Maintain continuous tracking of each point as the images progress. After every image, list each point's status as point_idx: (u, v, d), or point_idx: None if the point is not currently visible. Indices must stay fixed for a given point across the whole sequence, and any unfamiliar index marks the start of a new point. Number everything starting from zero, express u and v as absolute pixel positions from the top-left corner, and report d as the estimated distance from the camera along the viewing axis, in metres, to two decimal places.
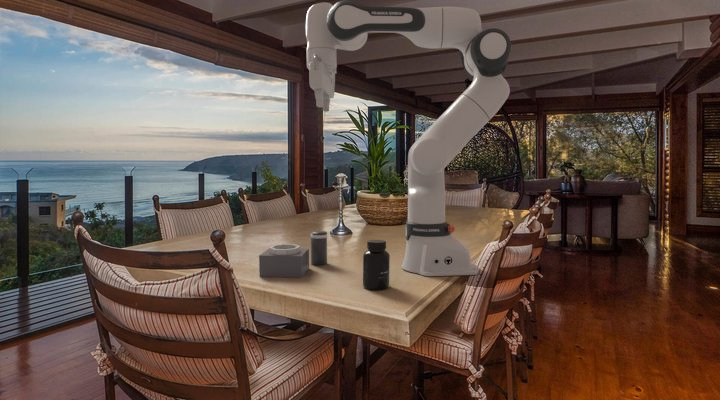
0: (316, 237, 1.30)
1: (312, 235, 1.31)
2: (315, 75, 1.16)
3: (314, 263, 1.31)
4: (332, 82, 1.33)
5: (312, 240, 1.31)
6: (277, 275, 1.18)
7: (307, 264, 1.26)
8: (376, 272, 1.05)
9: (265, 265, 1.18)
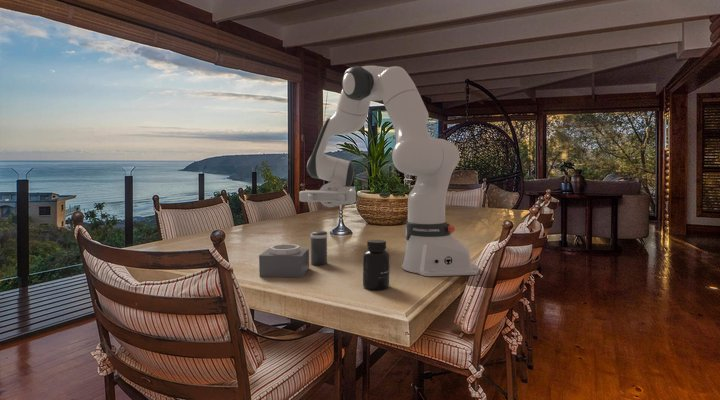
0: (316, 237, 1.30)
1: (312, 235, 1.31)
2: None
3: (314, 263, 1.31)
4: (349, 191, 1.52)
5: (312, 240, 1.31)
6: (277, 275, 1.18)
7: (307, 264, 1.26)
8: (376, 272, 1.05)
9: (265, 265, 1.18)
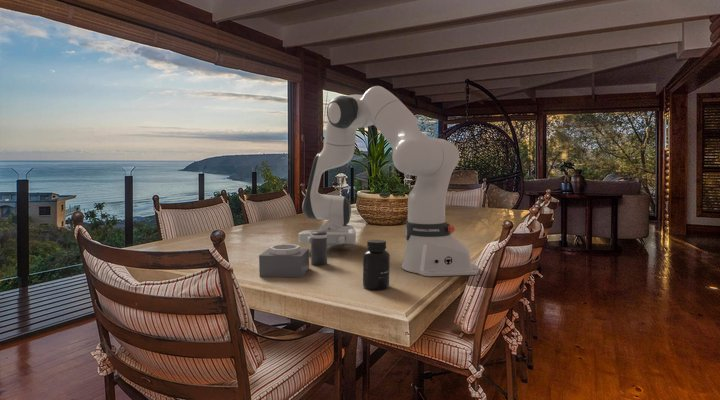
0: (316, 237, 1.30)
1: (312, 235, 1.31)
2: None
3: (314, 263, 1.31)
4: (349, 231, 1.50)
5: (312, 240, 1.31)
6: (277, 275, 1.18)
7: (307, 264, 1.26)
8: (376, 272, 1.05)
9: (265, 265, 1.18)
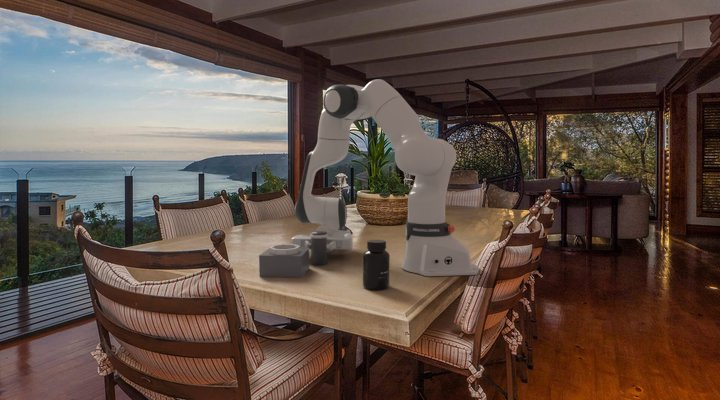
0: (316, 237, 1.30)
1: (312, 235, 1.31)
2: None
3: (314, 263, 1.31)
4: (345, 236, 1.41)
5: (312, 240, 1.31)
6: (277, 275, 1.18)
7: (307, 264, 1.26)
8: (376, 272, 1.05)
9: (265, 265, 1.18)
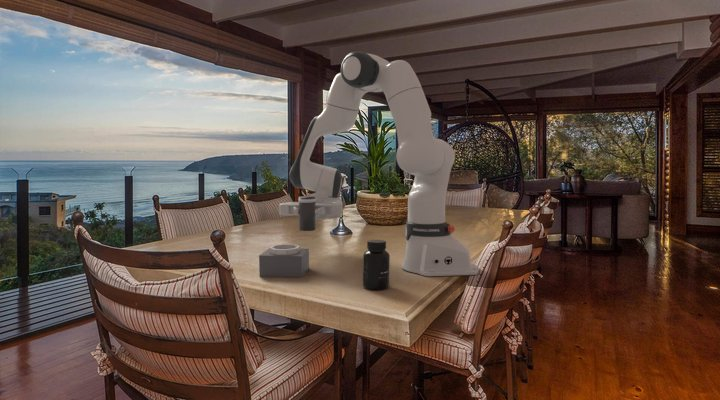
0: (304, 201, 1.26)
1: (300, 199, 1.27)
2: None
3: (302, 228, 1.27)
4: (335, 203, 1.36)
5: (300, 204, 1.27)
6: (277, 275, 1.18)
7: (307, 264, 1.26)
8: (376, 272, 1.05)
9: (265, 265, 1.18)
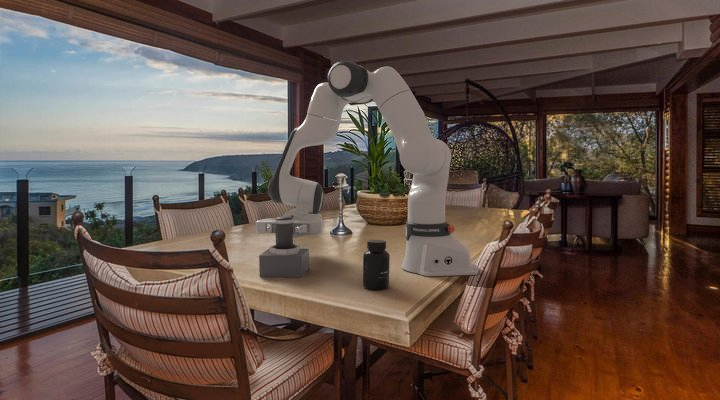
0: (280, 222, 1.20)
1: (276, 220, 1.20)
2: None
3: None
4: (315, 219, 1.30)
5: (276, 226, 1.21)
6: (277, 275, 1.18)
7: (307, 264, 1.26)
8: (376, 272, 1.05)
9: (265, 265, 1.18)
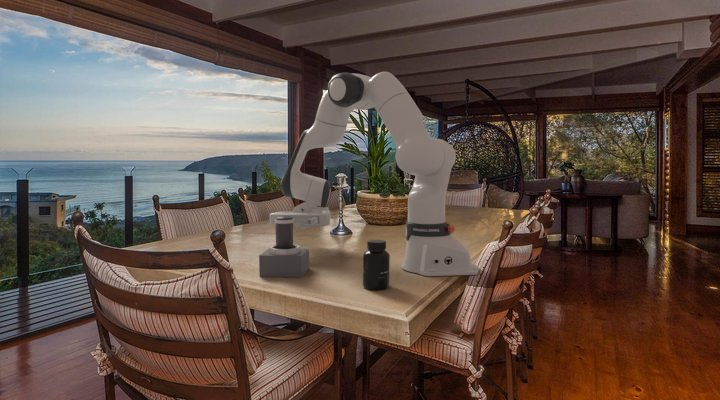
0: (281, 222, 1.20)
1: (276, 220, 1.20)
2: None
3: None
4: (323, 212, 1.43)
5: (276, 226, 1.21)
6: (277, 275, 1.18)
7: (307, 264, 1.26)
8: (376, 272, 1.05)
9: (265, 265, 1.18)
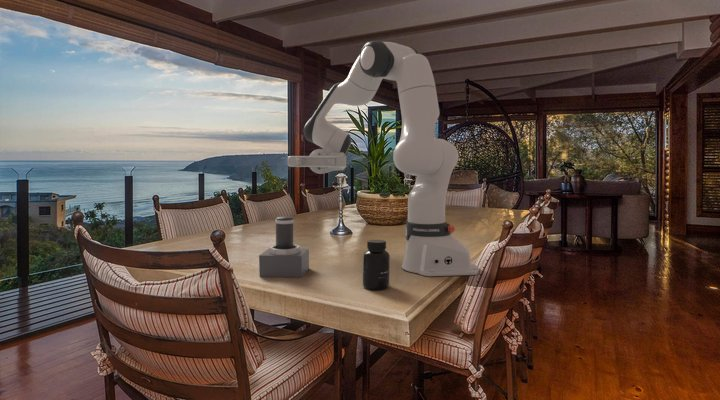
0: (281, 222, 1.19)
1: (277, 220, 1.20)
2: None
3: None
4: (340, 156, 1.47)
5: (277, 226, 1.20)
6: (277, 275, 1.18)
7: (307, 264, 1.26)
8: (376, 272, 1.05)
9: (265, 265, 1.18)
